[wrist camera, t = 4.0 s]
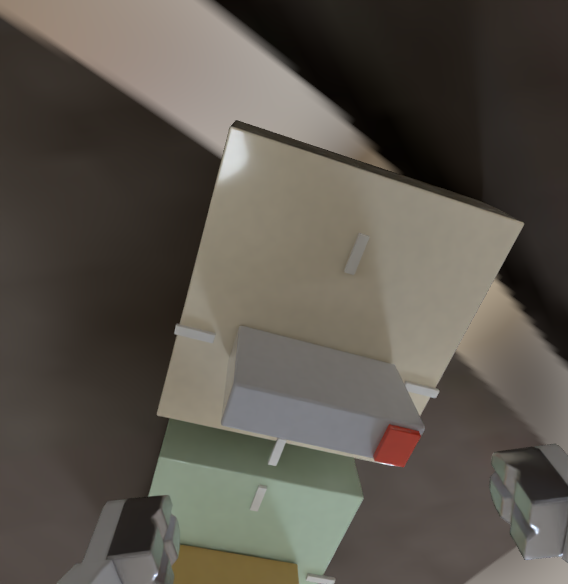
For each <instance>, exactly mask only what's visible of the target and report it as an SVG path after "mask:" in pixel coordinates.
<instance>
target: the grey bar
mask: <svg viewBox="0 0 568 584" xmlns="http://www.w3.org/2000/svg"><path fill="white" fill-rule="evenodd" d="M221 425H222V426H226V427H230V428H235V429H240V430H244V431H249V432H253V433H258V434H263V435H267V436H272V437H277V438H281V439H286V440H290V441H295V442H300V443H304V444H309V445H314V446H318V447H323V448H328V449H332V450H337V451H341V452H346V453H351V454H355V455H360V456H365V457H369V458H374V461H376V462H381V463H386V464H390V465H395V466H400V467H404V466H405V464H406V462H407V461H408V459H409V457H410V455H411V453H412V452H413V450H414V448H415V446H416V444H417V443H418V441H419V439H420V437H421V435H422V433H423V432H424V430H425V426H424V424H423V422H422V420H421V418H420V416H419V413H418V411H417V409H416V407H415V405H414V403H413V401H412V399H411V397H410V395H409V393H408V391H407V389H406V387H405V385H404V383H403V380H402V378H401V376H400V374H399V372H398V370H397V368H396V366H395V365H394V364H391V363H387V362H383V361H379V360H375V359H371V358H367V357H363V356H359V355H356V354H352V353H348V352H344V351H340V350H336V349H332V348H328V347H324V346H320V345H316V344H313V343H309V342H305V341H301V340H297V339H293V338H289V337H285V336H281V335H277V334H273V333H269V332H266V331H262V330H258V329H254V328H250V327H246V326H240V327H239V328H238V331H237V334H236V338H235V341H234V344H233V347H232V350H231V354H230V357H229V360H228V367H227V376H226V384H225V392H224V400H223V409H222V417H221Z"/></svg>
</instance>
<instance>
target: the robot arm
mask: <svg viewBox="0 0 568 584" xmlns="http://www.w3.org/2000/svg"><path fill="white" fill-rule="evenodd" d="M491 464H492V466H493V468H494V469H495V472H494V473H493V474H492V475H491V477H490V487H489V488H490V493H491V497H492V501H493V503H494V506H495V508H496V510H497V512H498V514H499V516H500V517H501V518H502V519H504V520H505V521H507V522H508V523H510V524H511V528H510V535H511V537H512V539H513V540H514V542H515V544H516V546H517V547H518V549H519V551H520V553H521V554H522V556H523V558H524V560H529V559H539V558H550V557H560V556H562V559H563V560H565V561H566V562H567V563H568V455H567V454H566V453H565V452H564V450H563V449H562V448H561V447H560V446H559V445H556V444H549V445H542V446H535V447H526V448H519V449H512V450H505V451H498V452H494V453H493V455H492V460H491ZM172 506H173V504H172V501H171V498H170V496H169V495H158V496H149V497H139V498H129V499H122V500H113V501H108V502H107V503H106V504H105V505H104V507H103V509H102V512H101V514H100V517H99V520H98V522H97V525H96V527H95V530H94V533H93V535H92V538H91V540H90V543H89V546H88V548H87V551H86V554H85V556H84V559H83V561H82V563H78V564H75V565H74V566H73V567H72V568H71V569H70V570H69V571H68V572H67V573H66V574H65V575H64V576H63V577H62V578H61V579H60V580H59V581H58V582H57V583H56V584H174V578H175V576H174V573H173V569H172V565H173V564H174V563H175V562H176V560H177V559H178V556H179V549H180V529H179V523H178V520H177V517H175V516H174V515H173V514H171V511H172Z"/></svg>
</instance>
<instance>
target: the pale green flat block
mask: <svg viewBox="0 0 568 584" xmlns="http://www.w3.org/2000/svg"><path fill="white" fill-rule="evenodd" d="M275 443H276V441H274V440H269V439H264V438H260V437H255V436H250V435H246V434H241V433H236V432H232V431H227V430H222V429H218V428H213V427H208V426H204V425H199V424H194V423H190V422H185V421H180V420H176V419H171V418H169V422H168V425H167V429H166V432H165V436H164V440H163V443H162V447H161V450H160V454H159V458H158V461H157V465H156V469H155V472H154V476H153V480H152V484H151V487H150V491H149V495H148V497H149V496H158V495H169V496H170V498H171V501H172V504H173V506H172V511H171V514H173V515H174V516H175V517H177V520H178V523H179V529H180V544H182V545H188V546H194V547H200V548H206V549H211V550H217V551H223V552H229V553H235V554H241V555H247V556H253V557H259V558H265V559H271V560H277V561H283V562H289V563H294V564H297V565H298V578H299V584H318V583H322V584H334V582H335V578H334V577H328V576H323V574H324V572H325V570H326V568H327V566H328V565H329V563H330V561H331V559H332V557H333V555H334V553H335V551H336V549H337V548H338V546H339V544H340V542H341V540H342V538H343V536H344V534H345V532H346V531H347V529H348V527H349V525H350V523H351V521H352V519H353V517H354V515H355V514H356V512H357V510H358V508H359V506H360V504H361V502H362V500H363V498H364V497H363V493H362V489H361V485H360V481H359V477H358V473H357V469H356V465H355V461H354V458H353V457H348V456H343V455H339V454H334V453H329V452H325V451H320V450H315V449H311V448H306V447H301V446H297V445H292V444H287V443H285V446H284V448H283V451H282V453H281V456H280V458H279V460H278V463H277V465H276V466H273V465H268V460H269V458H270V455H271V453H272V450H273V448H274V445H275Z"/></svg>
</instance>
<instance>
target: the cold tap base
mask: <svg viewBox="0 0 568 584" xmlns="http://www.w3.org/2000/svg"><path fill="white" fill-rule="evenodd" d="M523 226H524V223H523V222H521V221H519V220H518V219H516V218H514V217H512V216H510V215H508V214H506V213H504V212H502V211H500V210H498V209H496V208H494V207H492V206H490V205H488V204H486V203H484V202H481V201H478V200H475V199H472V198H469V197H466V196H463V195H460V194H457V193H454V192H451V191H448V190H445V189H442V188H439V187H436V186H433V185H430V184H427V183H424V182H421V181H418V180H415V179H412V178H409V177H406V176H403V175H400V174H397V173H394V172H391V171H388V170H385V169H382V168H379V167H376V166H373V165H370V164H367V163H364V162H361V161H357V160H355V159H352V158H349V157H346V156H343V155H340V154H337V153H334V152H331V151H328V150H325V149H322V148H319V147H316V146H313V145H310V144H307V143H304V142H301V141H298V140H295V139H292V138H289V137H286V136H283V135H280V134H277V133H273V132H270V131H268V130H265V129H261V128H259V127H256V126H252V125H250V124H246V123H244V122H240V121H237V120H236V121H235V122H234V123H233V124H232V125H231V127H230V128H229V132H228V136H227V140H226V144H225V148H224V151H223V155H222V159H221V163H220V167H219V171H218V175H217V179H216V183H215V187H214V191H213V195H212V199H211V203H210V206H209V210H208V214H207V218H206V222H205V226H204V230H203V234H202V238H201V242H200V246H199V250H198V254H197V257H196V261H195V265H194V269H193V273H192V277H191V281H190V285H189V289H188V293H187V297H186V301H185V305H184V308H183V312H182V316H181V320H180V324H176V327H175V331H174V334H176V335H177V336H176V340H175V344H174V348H173V352H172V356H171V359H170V363H169V367H168V371H167V375H166V379H165V383H164V387H163V391H162V395H161V399H160V403H159V407H158V411H157V415H158V416H162V417H166V418H171V419H176V420H180V421H185V422H190V423H194V424H199V425H204V426H208V427H213V428H218V429H222V430H227V431H232V432H236V433H241V434H246V435H250V436H255V437H260V438H264V439H269V440H274V441H276V443H275V445H274V448H273V450H272V453H271V455H270V458H269V460H268V465H273V466H276V465H277V463H278V460H279V458H280V456H281V453H282V451H283V448H284V446H285V443H287V444H292V445H297V446H301V447H306V448H311V449H315V450H320V451H325V452H329V453H334V454H339V455H343V456H348V457H353V458H357V459H362V460H367V461H371V462H376V461H374V458H369V457H365V456H360V455H355V454H351V453H346V452H341V451H337V450H332V449H328V448H323V447H318V446H314V445H309V444H304V443H300V442H295V441H290V440H286V439H281V438H277V437H272V436H267V435H263V434H258V433H253V432H249V431H244V430H240V429H235V428H230V427H226V426H222V425H221V417H222V409H223V400H224V392H225V384H226V376H227V367H228V360H229V357H230V354H231V350H232V347H233V344H234V341H235V338H236V334H237V331H238V328H239V327H240V326H246V327H250V328H254V329H258V330H262V331H266V332H269V333H273V334H277V335H281V336H285V337H289V338H293V339H297V340H301V341H305V342H309V343H313V344H316V345H320V346H324V347H328V348H332V349H336V350H340V351H344V352H348V353H352V354H356V355H359V356H363V357H367V358H371V359H375V360H379V361H383V362H387V363H391V364H394V365H395V366H396V368H397V370H398V372H399V374H400V376H401V378H402V380H403V383H404V385H405V387H406V389H407V391H408V393H409V395H410V397H411V399H412V401H413V403H414V405H415V407H416V409H417V411H418V413H419V416H420V415H421V413H422V411H423V410H424V408H425V406H426V404H427V402H428V400H429V399H430V397H432V398H436V397H437V395H438V393H439V389H437V388H436V386H437V384H438V382H439V380H440V378H441V376H442V375H443V373H444V371H445V369H446V367H447V365H448V364H449V362H450V360H451V358H452V356H453V354H454V353H455V351H456V349H457V347H458V345H459V343H460V341H461V340H462V338H463V336H464V334H465V332H466V330H467V329H468V327H469V325H470V323H471V321H472V319H473V318H474V316H475V314H476V312H477V310H478V308H479V306H480V305H481V303H482V301H483V299H484V297H485V295H486V294H487V292H488V290H489V288H490V286H491V284H492V282H493V281H494V279H495V277H496V275H497V273H498V272H499V270H500V268H501V266H502V264H503V262H504V260H505V259H506V257H507V255H508V253H509V251H510V249H511V248H512V246H513V244H514V242H515V240H516V238H517V237H518V235H519V233H520V231H521V229H522V227H523ZM376 463H381V462H376ZM381 464H385V465H390V464H386V463H381ZM390 466H393V465H390Z"/></svg>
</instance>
